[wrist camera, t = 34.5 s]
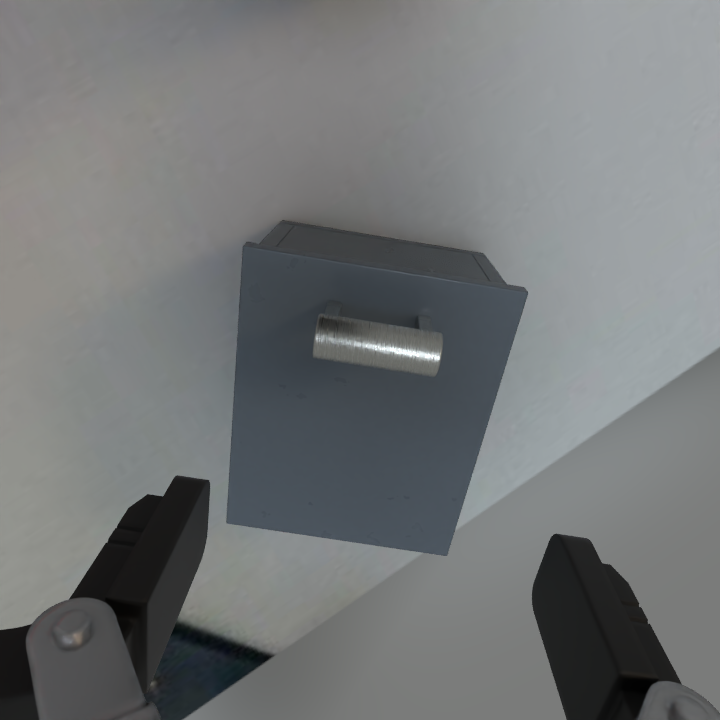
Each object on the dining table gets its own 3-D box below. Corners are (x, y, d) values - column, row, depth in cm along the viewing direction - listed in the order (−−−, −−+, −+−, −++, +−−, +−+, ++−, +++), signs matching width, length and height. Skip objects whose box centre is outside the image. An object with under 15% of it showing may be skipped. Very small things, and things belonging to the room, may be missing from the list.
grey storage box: (281, 219, 38) (249, 252, 29) (484, 253, 38) (516, 295, 29) (260, 433, 45) (229, 514, 36) (432, 459, 45) (445, 546, 36)
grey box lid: (246, 241, 27) (216, 275, 23) (525, 286, 28) (553, 330, 23) (229, 514, 36) (204, 583, 31) (445, 547, 36) (454, 619, 31)
